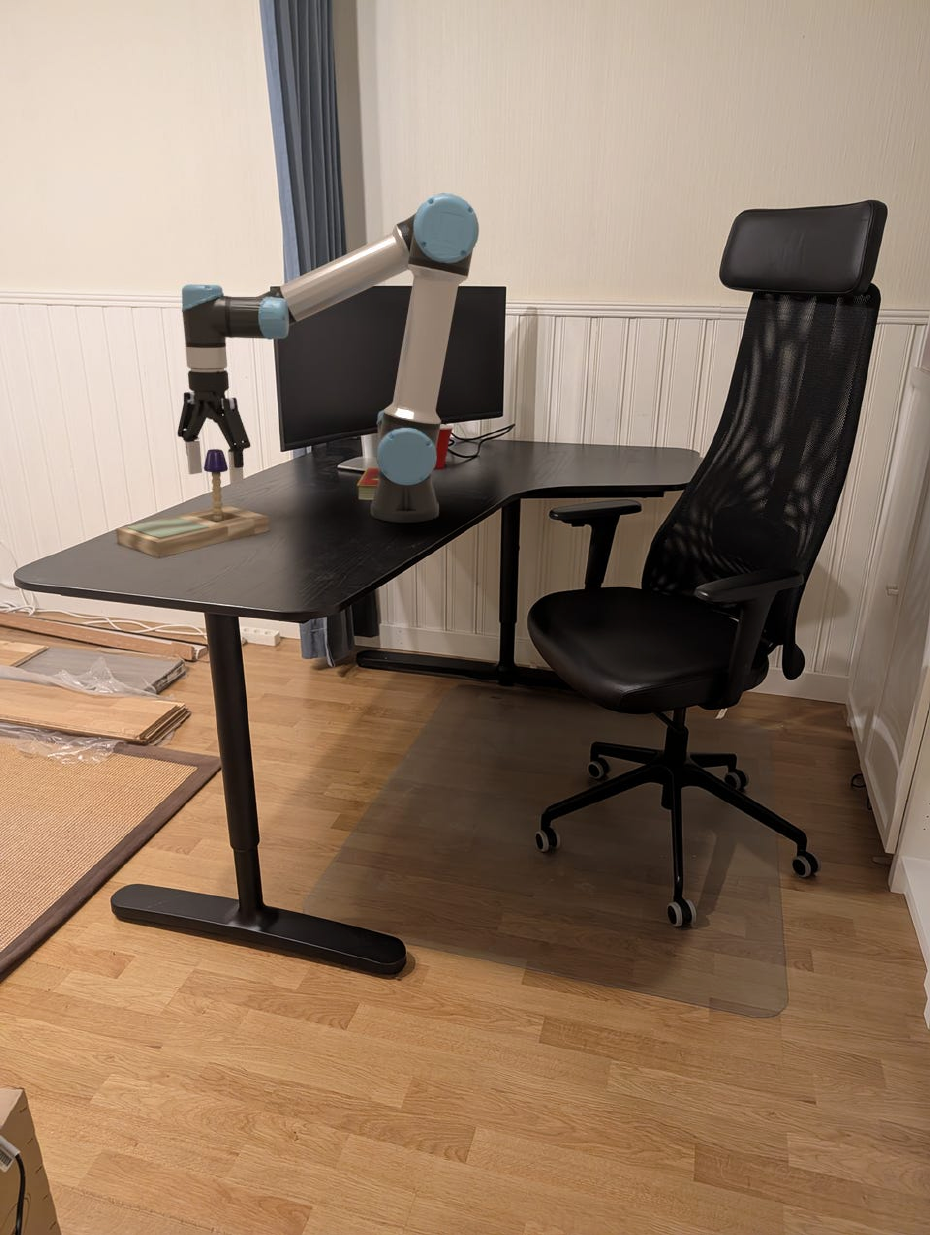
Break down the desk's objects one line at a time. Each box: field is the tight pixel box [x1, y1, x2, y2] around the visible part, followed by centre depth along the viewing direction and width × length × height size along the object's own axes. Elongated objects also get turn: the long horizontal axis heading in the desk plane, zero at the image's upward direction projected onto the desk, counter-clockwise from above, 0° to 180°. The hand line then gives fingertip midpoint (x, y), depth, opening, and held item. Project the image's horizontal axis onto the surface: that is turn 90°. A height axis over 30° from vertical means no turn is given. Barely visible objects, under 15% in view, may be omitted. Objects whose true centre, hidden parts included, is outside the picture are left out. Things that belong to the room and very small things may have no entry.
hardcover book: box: [356, 466, 378, 501], centre depth 222 cm, size 12×21×4 cm, turn 179°
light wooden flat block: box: [115, 505, 270, 559], centre depth 180 cm, size 14×26×3 cm, turn 141°
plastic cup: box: [433, 423, 455, 470], centre depth 248 cm, size 11×11×12 cm
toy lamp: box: [203, 448, 229, 523], centre depth 182 cm, size 5×5×17 cm
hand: (215, 478), depth 181 cm, fingers open, 13 cm apart
